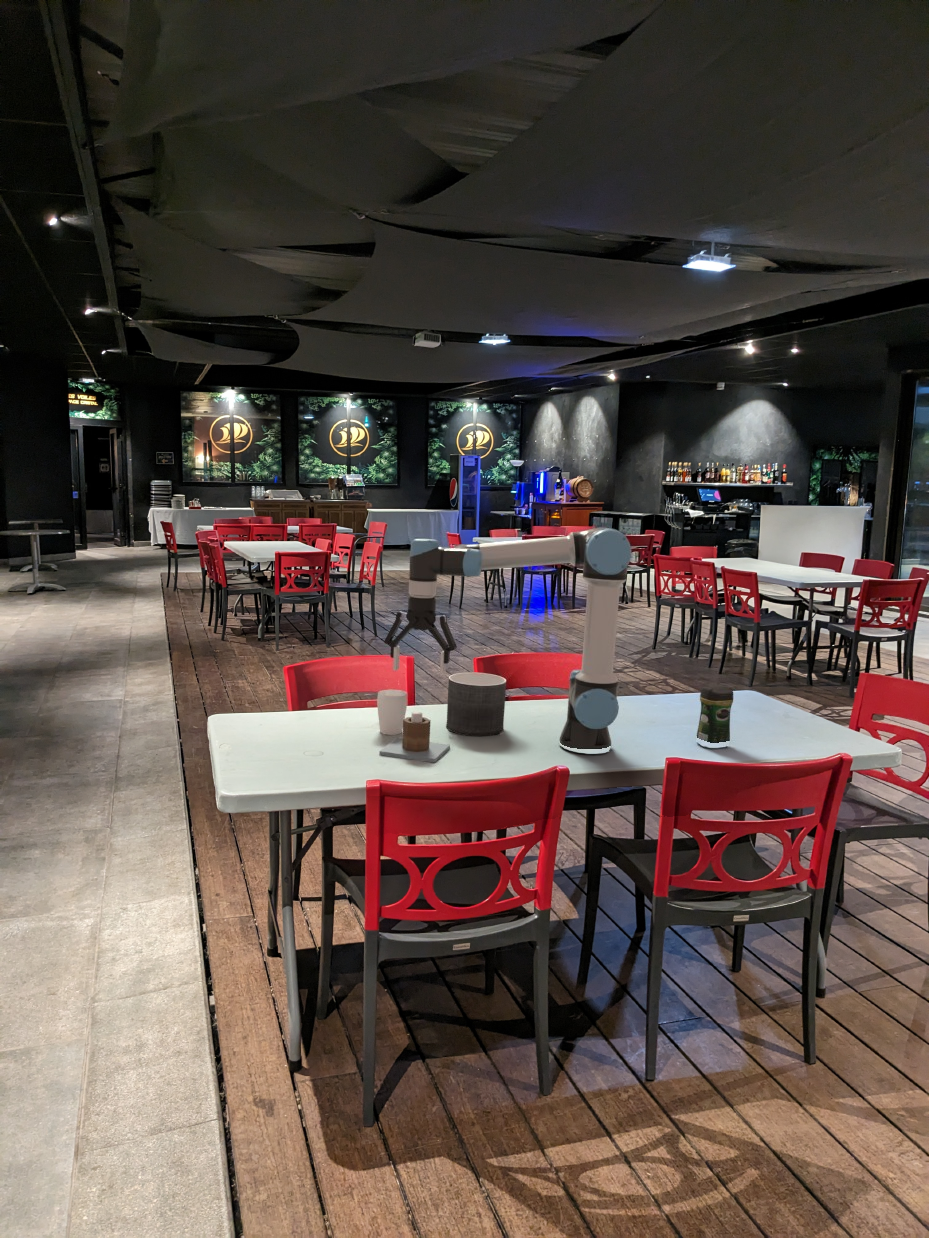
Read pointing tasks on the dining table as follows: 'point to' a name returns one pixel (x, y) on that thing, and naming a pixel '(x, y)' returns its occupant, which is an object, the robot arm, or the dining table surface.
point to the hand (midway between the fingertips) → (419, 672)
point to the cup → (391, 710)
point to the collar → (416, 735)
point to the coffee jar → (715, 714)
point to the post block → (430, 755)
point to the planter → (476, 704)
